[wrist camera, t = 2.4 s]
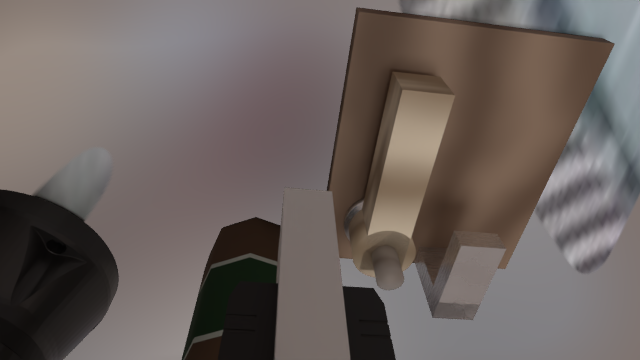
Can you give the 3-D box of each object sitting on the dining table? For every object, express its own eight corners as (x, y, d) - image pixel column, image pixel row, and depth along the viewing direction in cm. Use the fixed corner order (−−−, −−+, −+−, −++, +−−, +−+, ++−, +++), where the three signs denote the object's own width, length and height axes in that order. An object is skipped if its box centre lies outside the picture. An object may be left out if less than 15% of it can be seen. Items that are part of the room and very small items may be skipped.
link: (399, 251, 34) (414, 305, 29) (344, 247, 34) (351, 302, 29) (451, 78, 26) (483, 114, 22) (381, 70, 26) (398, 105, 21)
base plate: (317, 246, 36) (318, 256, 35) (356, 7, 26) (358, 11, 25) (499, 259, 38) (505, 268, 37) (603, 38, 28) (614, 43, 26)
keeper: (336, 255, 35) (343, 313, 30) (350, 186, 31) (359, 238, 27) (449, 263, 36) (472, 319, 31) (475, 196, 32) (506, 249, 28)
